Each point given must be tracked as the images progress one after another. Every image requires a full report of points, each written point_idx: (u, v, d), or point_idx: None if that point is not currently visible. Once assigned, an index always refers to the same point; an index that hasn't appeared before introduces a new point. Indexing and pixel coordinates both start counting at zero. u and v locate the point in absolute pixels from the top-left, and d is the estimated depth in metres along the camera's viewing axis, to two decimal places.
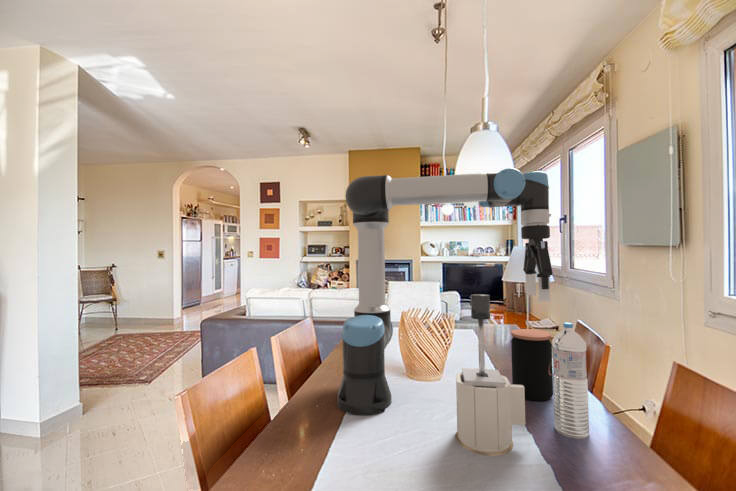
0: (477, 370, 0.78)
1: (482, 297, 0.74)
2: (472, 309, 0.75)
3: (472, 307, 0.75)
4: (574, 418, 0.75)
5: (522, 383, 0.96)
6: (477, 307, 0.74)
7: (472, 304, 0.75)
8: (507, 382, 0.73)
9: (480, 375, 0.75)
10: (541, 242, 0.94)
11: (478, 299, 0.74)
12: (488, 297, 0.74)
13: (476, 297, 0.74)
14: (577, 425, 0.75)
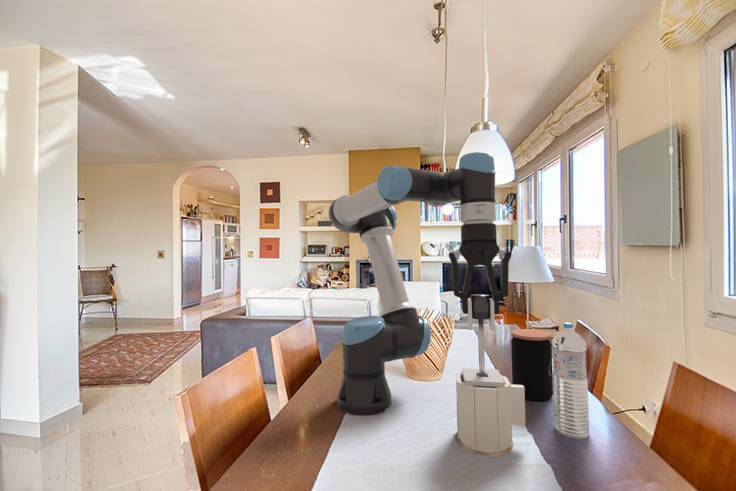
0: (477, 370, 0.78)
1: (482, 297, 0.74)
2: (472, 309, 0.75)
3: (472, 307, 0.75)
4: (574, 418, 0.75)
5: (522, 383, 0.96)
6: (477, 307, 0.74)
7: (472, 304, 0.75)
8: (507, 382, 0.73)
9: (480, 375, 0.75)
10: None
11: (478, 299, 0.74)
12: (488, 297, 0.74)
13: (476, 297, 0.74)
14: (577, 425, 0.75)
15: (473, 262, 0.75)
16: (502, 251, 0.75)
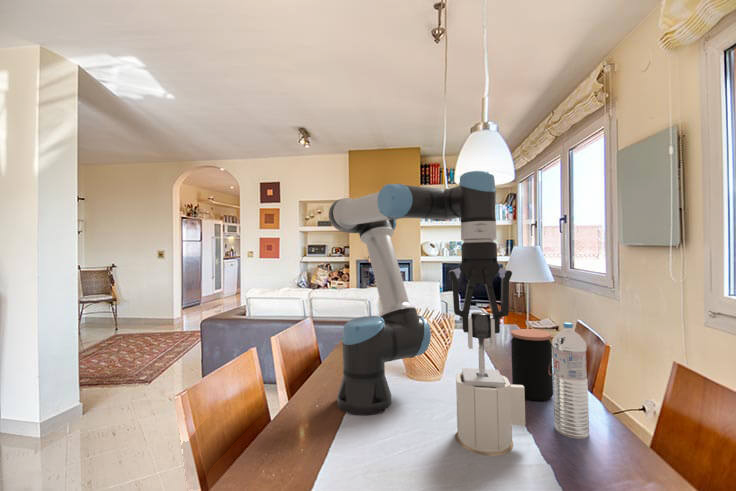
0: (477, 370, 0.78)
1: (482, 316, 0.74)
2: (472, 328, 0.75)
3: (472, 326, 0.75)
4: (574, 418, 0.75)
5: (522, 383, 0.96)
6: (477, 326, 0.74)
7: (472, 323, 0.75)
8: (507, 382, 0.73)
9: None
10: None
11: (478, 318, 0.74)
12: (488, 316, 0.74)
13: (476, 316, 0.74)
14: (577, 424, 0.75)
15: (473, 281, 0.75)
16: (503, 270, 0.75)
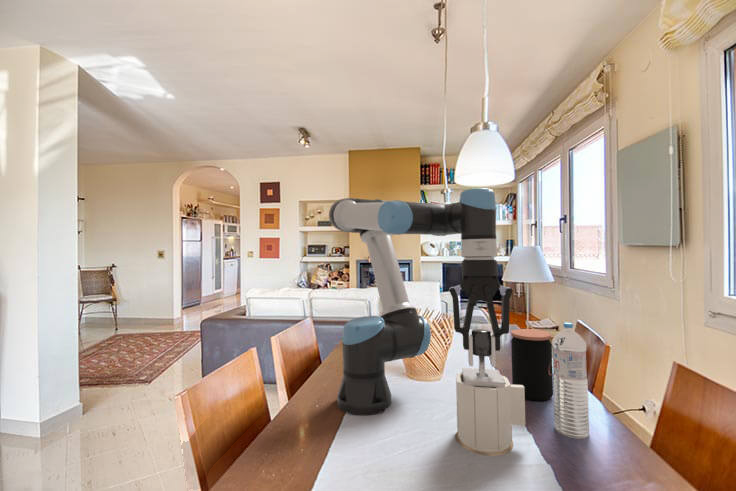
0: (477, 370, 0.78)
1: (483, 334, 0.74)
2: (473, 345, 0.75)
3: (473, 343, 0.75)
4: (574, 418, 0.75)
5: (522, 383, 0.96)
6: (478, 344, 0.74)
7: (473, 340, 0.75)
8: (507, 382, 0.73)
9: None
10: None
11: (479, 336, 0.74)
12: (488, 334, 0.74)
13: (477, 333, 0.74)
14: (577, 425, 0.75)
15: (474, 298, 0.74)
16: (503, 287, 0.75)
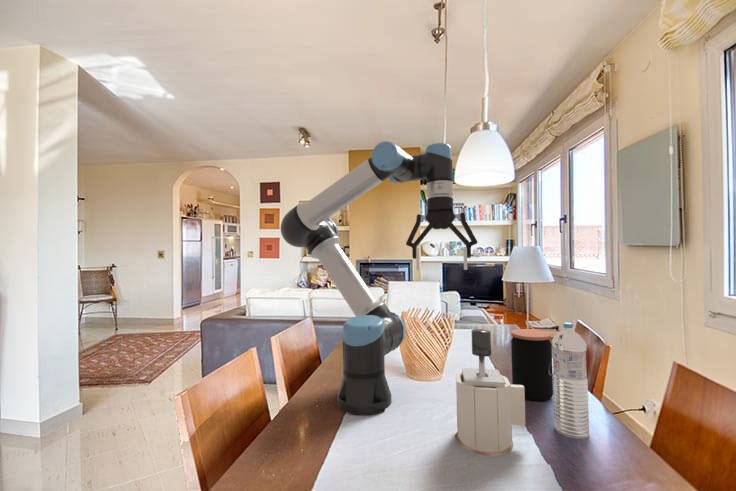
0: (477, 370, 0.78)
1: (483, 334, 0.74)
2: (473, 345, 0.75)
3: (473, 343, 0.75)
4: (574, 418, 0.75)
5: (522, 383, 0.96)
6: (478, 344, 0.74)
7: (473, 340, 0.75)
8: (507, 382, 0.73)
9: None
10: None
11: (479, 336, 0.74)
12: (488, 334, 0.74)
13: (477, 334, 0.74)
14: (577, 425, 0.75)
15: (432, 225, 0.99)
16: (457, 215, 0.99)
